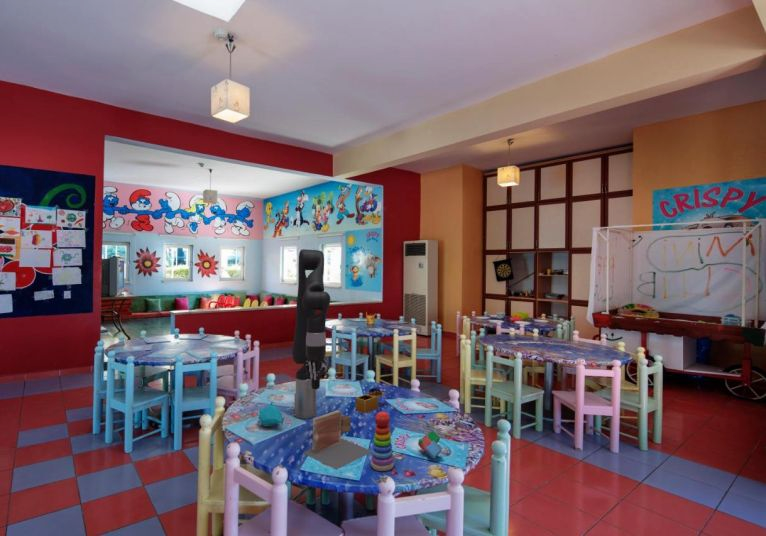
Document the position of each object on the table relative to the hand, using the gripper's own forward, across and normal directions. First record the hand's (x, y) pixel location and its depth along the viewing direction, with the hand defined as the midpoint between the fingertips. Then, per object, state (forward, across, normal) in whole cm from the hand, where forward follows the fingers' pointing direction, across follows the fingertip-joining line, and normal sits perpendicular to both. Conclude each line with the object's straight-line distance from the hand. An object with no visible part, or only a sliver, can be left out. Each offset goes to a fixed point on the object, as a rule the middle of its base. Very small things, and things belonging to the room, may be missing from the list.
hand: (315, 388), depth 157 cm
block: (+21, 0, -15) cm, 26 cm away
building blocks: (+21, -38, -24) cm, 50 cm away
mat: (+21, -13, 0) cm, 25 cm away
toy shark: (+21, +26, +2) cm, 34 cm away
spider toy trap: (+21, +11, -43) cm, 50 cm away
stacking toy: (+21, -31, -4) cm, 38 cm away
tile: (+20, -7, 0) cm, 22 cm away
